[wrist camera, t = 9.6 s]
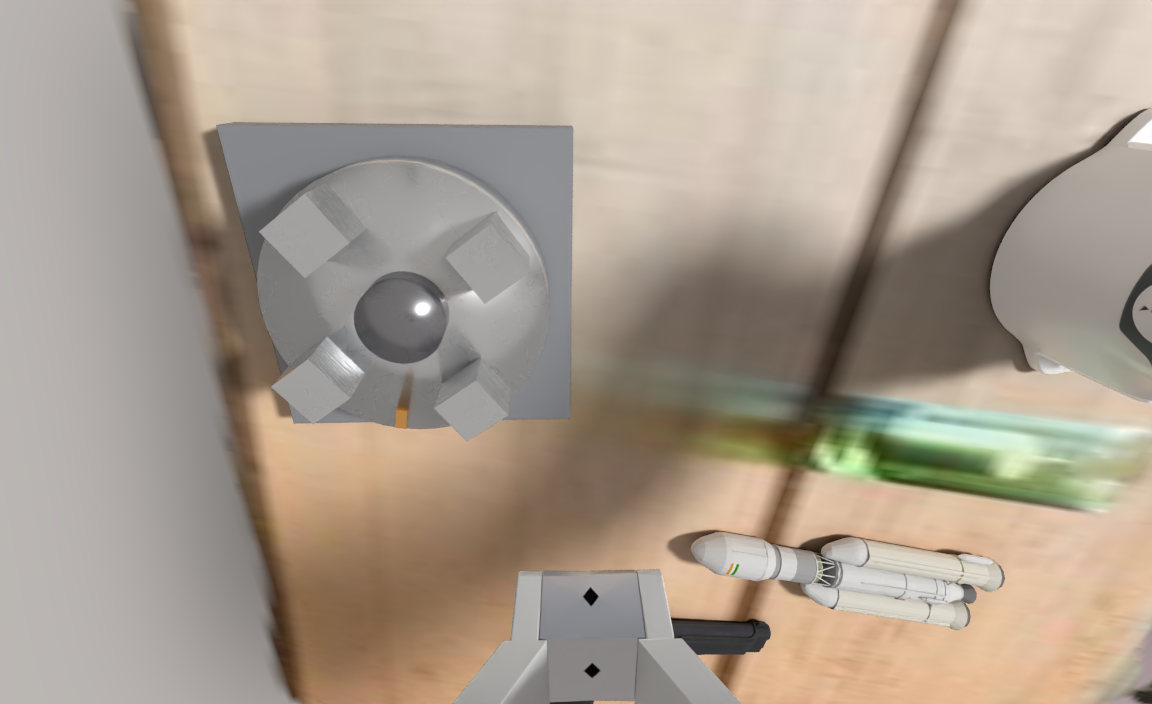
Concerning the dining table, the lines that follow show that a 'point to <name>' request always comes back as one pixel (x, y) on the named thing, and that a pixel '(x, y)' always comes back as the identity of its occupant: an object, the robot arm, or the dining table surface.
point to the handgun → (716, 638)
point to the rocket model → (861, 575)
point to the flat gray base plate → (490, 152)
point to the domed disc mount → (403, 296)
